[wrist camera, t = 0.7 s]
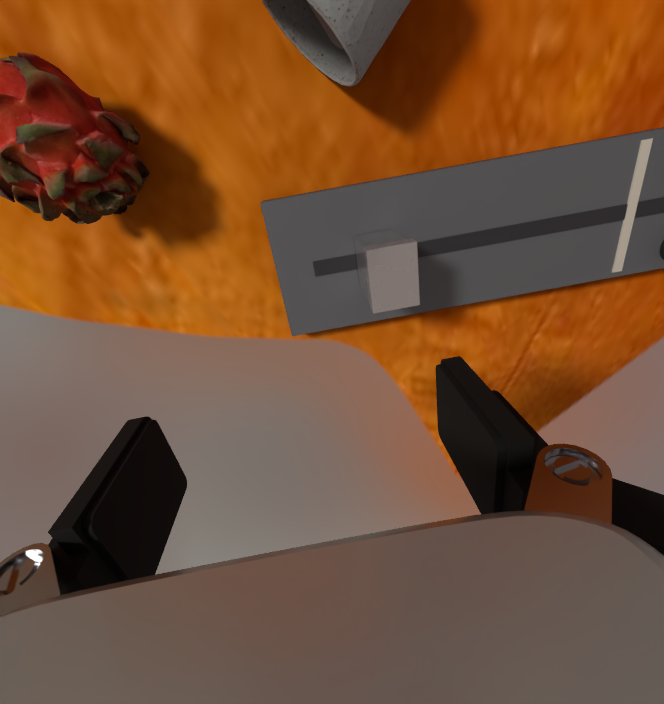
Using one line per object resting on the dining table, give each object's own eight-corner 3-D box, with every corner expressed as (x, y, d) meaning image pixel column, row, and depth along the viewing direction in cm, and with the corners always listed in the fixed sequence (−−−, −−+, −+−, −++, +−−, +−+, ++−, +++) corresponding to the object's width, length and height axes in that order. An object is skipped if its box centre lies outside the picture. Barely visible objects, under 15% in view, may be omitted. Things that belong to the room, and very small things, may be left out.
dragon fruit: (180, 201, 28) (30, 127, 26) (171, 88, 21) (-36, -22, 19) (115, 273, 24) (-69, 190, 22) (76, 162, 16) (-202, 28, 15)
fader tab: (352, 235, 27) (365, 250, 21) (392, 227, 27) (417, 241, 21) (359, 286, 29) (373, 313, 23) (396, 279, 29) (419, 305, 23)
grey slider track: (262, 200, 27) (257, 204, 23) (712, 118, 27) (775, 109, 23) (292, 327, 32) (291, 346, 29) (671, 257, 32) (717, 268, 29)
